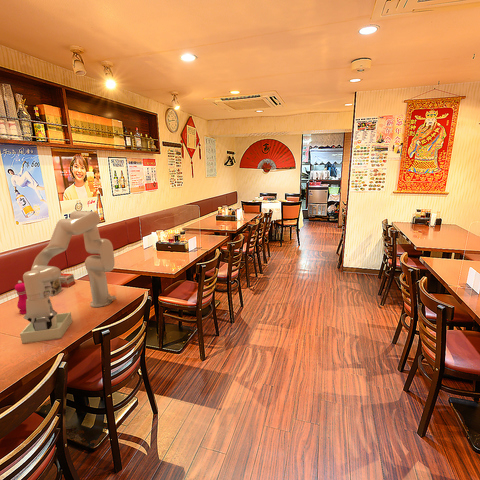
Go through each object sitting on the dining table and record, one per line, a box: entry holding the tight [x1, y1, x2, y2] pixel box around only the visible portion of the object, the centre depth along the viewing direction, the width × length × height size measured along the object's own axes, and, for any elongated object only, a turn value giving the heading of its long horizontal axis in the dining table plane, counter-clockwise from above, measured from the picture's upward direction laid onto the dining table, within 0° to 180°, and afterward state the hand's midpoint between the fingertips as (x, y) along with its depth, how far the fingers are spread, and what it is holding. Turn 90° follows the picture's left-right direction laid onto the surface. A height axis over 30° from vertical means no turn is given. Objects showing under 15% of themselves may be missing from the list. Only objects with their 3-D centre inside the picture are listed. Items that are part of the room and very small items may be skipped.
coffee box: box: [44, 277, 63, 297], centre depth 194 cm, size 9×6×16 cm
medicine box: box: [60, 272, 76, 289], centre depth 209 cm, size 15×8×8 cm, turn 81°
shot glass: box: [41, 313, 57, 329], centre depth 151 cm, size 7×7×7 cm
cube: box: [34, 318, 48, 331], centre depth 142 cm, size 5×5×5 cm
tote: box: [19, 311, 73, 344], centre depth 148 cm, size 17×17×6 cm
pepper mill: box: [14, 280, 27, 315], centre depth 168 cm, size 7×7×20 cm
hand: (43, 328), depth 143 cm, fingers closed on cube, 5 cm apart
